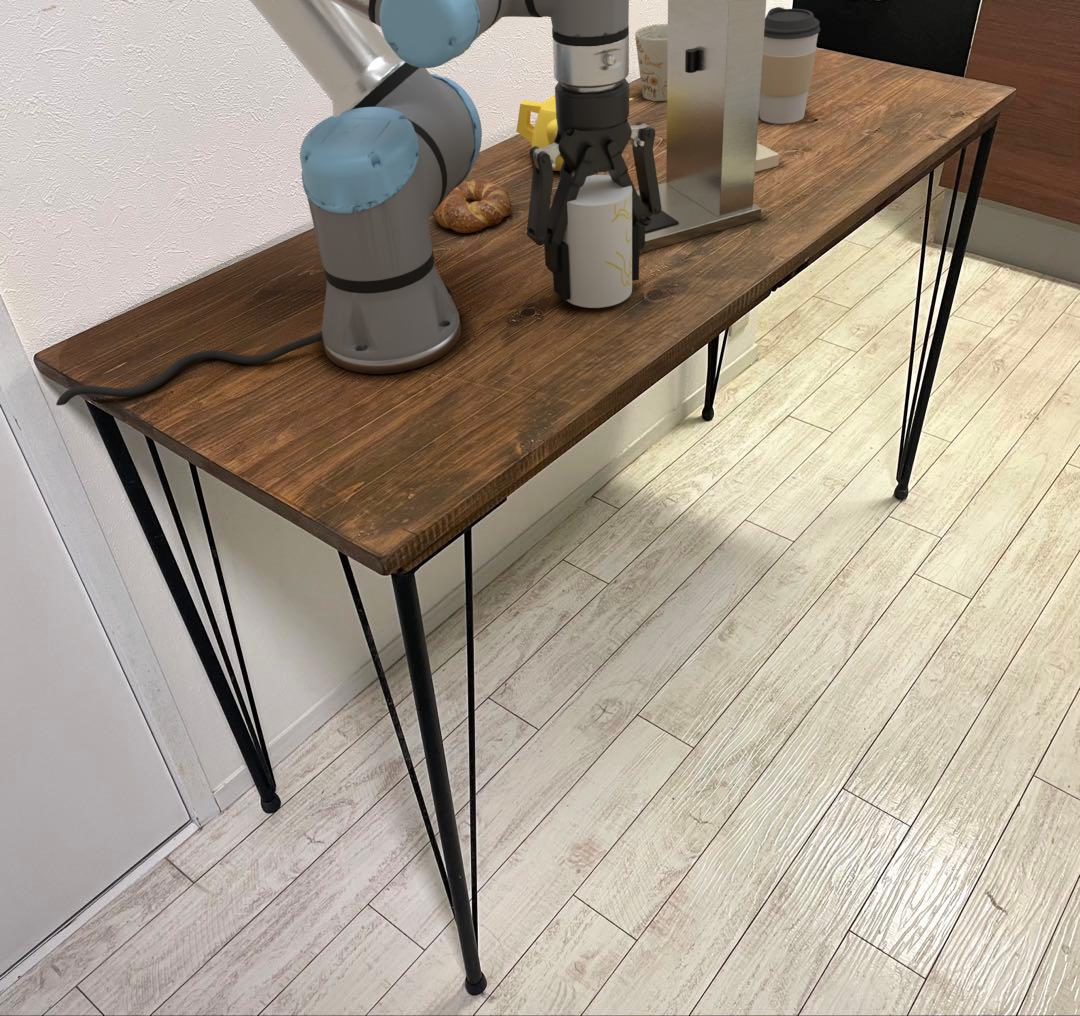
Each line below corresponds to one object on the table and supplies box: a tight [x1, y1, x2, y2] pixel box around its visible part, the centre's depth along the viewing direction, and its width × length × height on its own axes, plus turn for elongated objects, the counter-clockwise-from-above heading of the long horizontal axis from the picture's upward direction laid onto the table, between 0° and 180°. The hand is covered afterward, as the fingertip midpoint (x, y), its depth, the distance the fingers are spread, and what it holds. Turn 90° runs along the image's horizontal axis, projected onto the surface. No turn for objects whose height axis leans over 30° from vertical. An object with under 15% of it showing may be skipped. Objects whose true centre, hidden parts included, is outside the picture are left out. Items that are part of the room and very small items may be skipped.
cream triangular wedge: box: [755, 140, 780, 173], centre depth 144 cm, size 10×8×4 cm
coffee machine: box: [635, 0, 767, 255], centre depth 123 cm, size 20×14×29 cm
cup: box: [562, 174, 633, 309], centre depth 113 cm, size 8×8×12 cm
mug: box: [634, 23, 668, 102], centre depth 166 cm, size 8×13×10 cm, turn 96°
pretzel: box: [432, 178, 513, 234], centre depth 136 cm, size 12×11×4 cm
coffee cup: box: [759, 6, 821, 125], centre depth 153 cm, size 9×9×15 cm
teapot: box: [516, 94, 634, 173], centre depth 147 cm, size 14×13×10 cm
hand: (596, 285), depth 117 cm, fingers closed on cup, 8 cm apart
